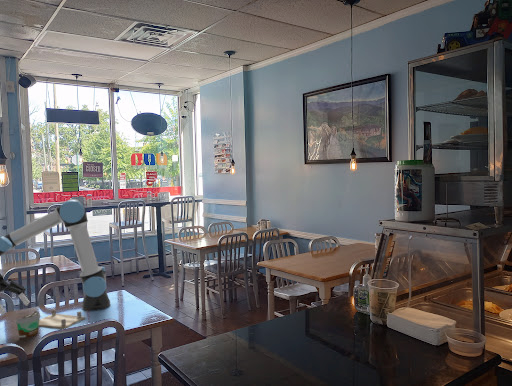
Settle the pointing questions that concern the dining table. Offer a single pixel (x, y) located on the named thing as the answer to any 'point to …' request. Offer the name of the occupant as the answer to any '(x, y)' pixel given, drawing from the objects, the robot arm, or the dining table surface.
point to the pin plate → (60, 320)
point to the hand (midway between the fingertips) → (16, 308)
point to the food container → (28, 325)
